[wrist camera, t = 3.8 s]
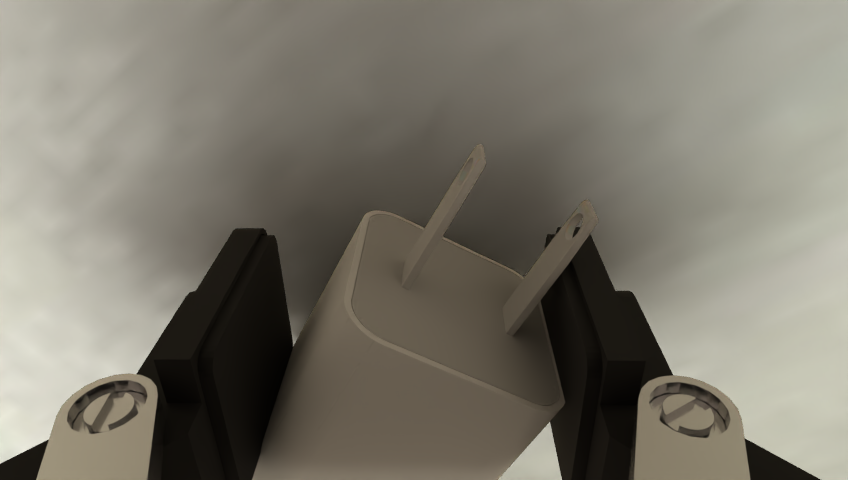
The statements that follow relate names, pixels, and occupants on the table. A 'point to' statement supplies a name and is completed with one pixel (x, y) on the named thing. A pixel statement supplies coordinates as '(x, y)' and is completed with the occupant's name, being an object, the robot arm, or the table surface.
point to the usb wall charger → (420, 356)
